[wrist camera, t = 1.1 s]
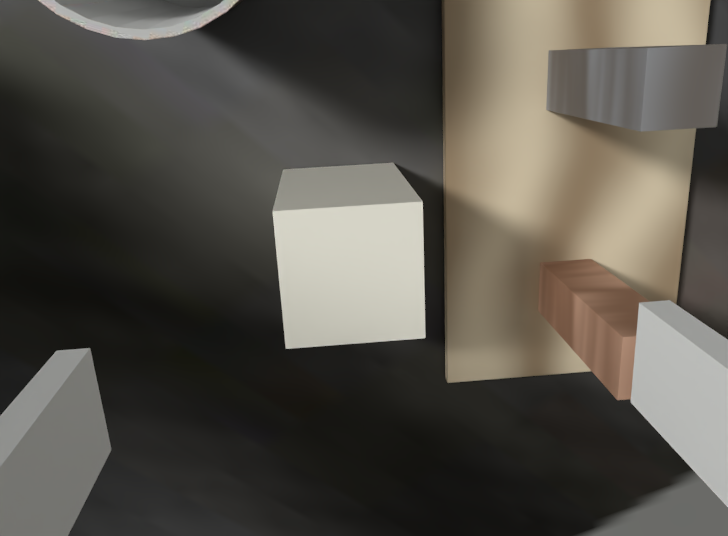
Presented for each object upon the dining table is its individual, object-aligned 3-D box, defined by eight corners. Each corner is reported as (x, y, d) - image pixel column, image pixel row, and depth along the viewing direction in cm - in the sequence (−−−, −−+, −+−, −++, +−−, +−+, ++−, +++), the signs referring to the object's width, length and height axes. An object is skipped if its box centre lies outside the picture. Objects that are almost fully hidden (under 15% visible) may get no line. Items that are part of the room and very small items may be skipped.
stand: (445, 377, 34) (493, 493, 25) (441, -34, 28) (503, -77, 19) (663, 359, 35) (786, 466, 26) (707, -46, 29) (891, -93, 20)
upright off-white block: (292, 274, 32) (285, 349, 24) (283, 169, 30) (272, 211, 22) (396, 266, 32) (425, 338, 24) (393, 162, 31) (423, 201, 22)
